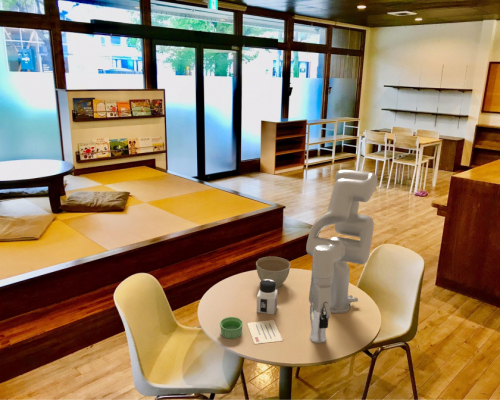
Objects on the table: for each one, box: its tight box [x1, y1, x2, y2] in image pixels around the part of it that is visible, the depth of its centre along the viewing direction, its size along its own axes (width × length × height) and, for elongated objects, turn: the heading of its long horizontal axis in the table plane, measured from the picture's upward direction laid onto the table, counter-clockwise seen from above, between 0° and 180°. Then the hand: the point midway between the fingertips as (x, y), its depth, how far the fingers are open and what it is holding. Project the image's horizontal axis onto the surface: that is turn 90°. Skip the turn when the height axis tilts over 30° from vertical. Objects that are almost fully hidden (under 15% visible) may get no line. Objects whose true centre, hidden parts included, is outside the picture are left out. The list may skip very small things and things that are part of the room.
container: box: [256, 279, 279, 315], centre depth 178 cm, size 8×8×13 cm
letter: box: [246, 319, 284, 345], centre depth 164 cm, size 11×14×1 cm
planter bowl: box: [255, 256, 291, 289], centre depth 200 cm, size 16×16×11 cm
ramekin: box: [219, 316, 244, 340], centre depth 162 cm, size 9×9×4 cm
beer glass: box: [309, 303, 327, 344], centre depth 158 cm, size 7×7×15 cm
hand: (318, 320), depth 157 cm, fingers open, 9 cm apart
